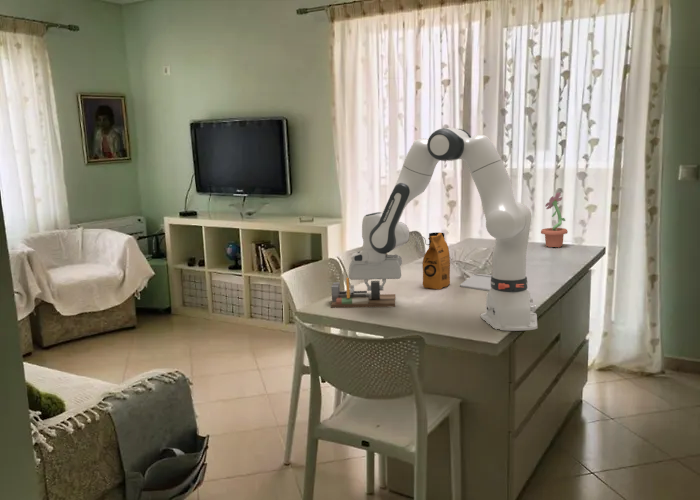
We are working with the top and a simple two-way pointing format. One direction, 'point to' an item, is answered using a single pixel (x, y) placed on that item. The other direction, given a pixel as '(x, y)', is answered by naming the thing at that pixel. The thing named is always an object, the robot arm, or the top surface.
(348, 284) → the orange angled bar
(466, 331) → the top surface
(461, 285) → the gadget
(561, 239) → the decorative flower
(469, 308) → the top surface
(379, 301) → the gauge base
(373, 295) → the grey notched block
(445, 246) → the coffee package
